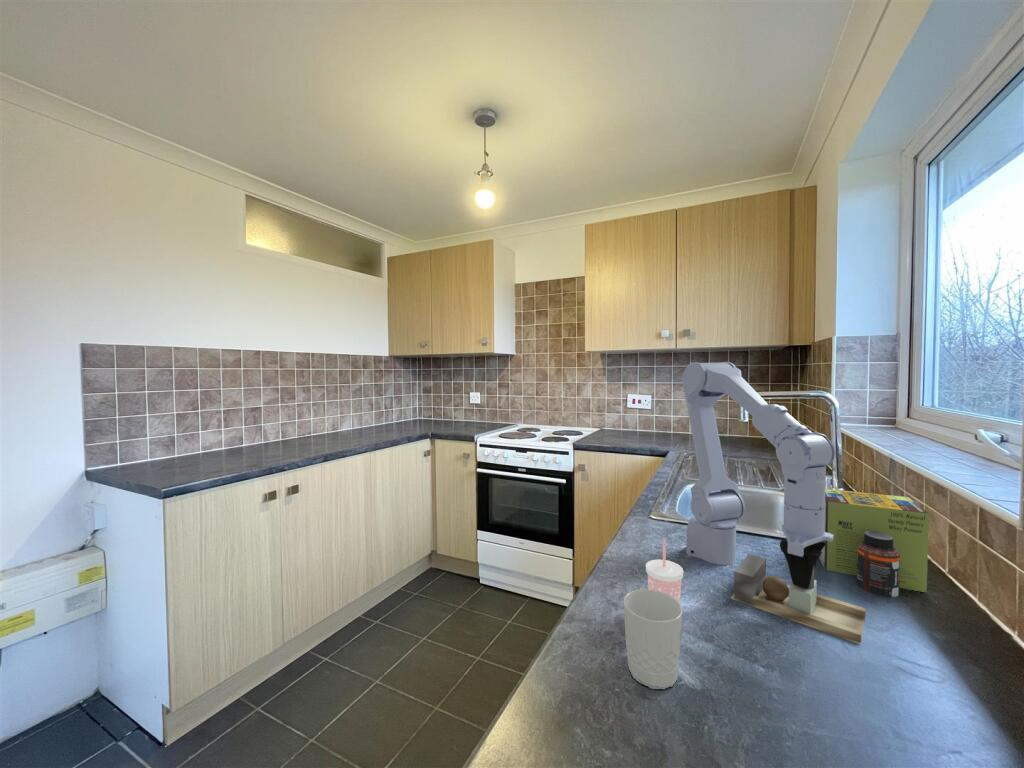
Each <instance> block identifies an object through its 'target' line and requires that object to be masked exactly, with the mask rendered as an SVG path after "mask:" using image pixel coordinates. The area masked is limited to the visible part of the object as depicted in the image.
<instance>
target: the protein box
mask: <svg viewBox="0 0 1024 768" xmlns="http://www.w3.org/2000/svg"><path fill="white" fill-rule="evenodd" d="M929 517H930V513H929V512H928V511H927V510H925V509H924V508H923V507H921V506H920V505H919V504H917V503H916V502H915V501H913V500H912V498H910V497H908V496H900V495H891V494H890V495H889V494H888V495H887V494H879V493H871V492H869V493H868V492H863V491H862V492H861V491H851V490H850V491H849V490H839V489H829V488H825V532H826V533H830V534H833V535H834V537H833V541H826V545H825V546H824V547H823V549H822V550H821V552H822V554H821V556H820V557H819V558H818V559H819V561H820V564H821V566H822V567H823V568H824V569H825V570H826V571H831V572H837V573H842V574H847V575H852V576H854V577H855V576H856V577H857V552H858V544H859V543H860V542H863V541H864V540H865V539H864V534H865V532H867V531H875V532H881V533H884V534H887V535H890V536H891V537H893V547H894V548H895V549H897V550H898V552H899V553H900V580H899V581H900V582H899V589H903V590H904V589H905V590H909V591H911V590H914V591H913V592H915V591H921V592H927V591H928V589H927V588H928V587H927V586H928V560H929V559H928V556H929V555H928V553H929V552H928V551H929V531H930V530H929V526H930V525H929V523H930V518H929Z"/></svg>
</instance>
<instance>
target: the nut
mask: <svg viewBox="0 0 1024 768" xmlns="http://www.w3.org/2000/svg"><path fill="white" fill-rule="evenodd" d="M787 585H788V584H787V583H786V582H785V580H784V579H782V578H781V577H779V576H773V575H772V576H771V575H770V576H766V579H765V580H764V581H763V585H762V586H763V590H764V592H765V594H766V599H767V600H770V601H773V602H776V603H779V604H782V603H783V601H784V600H785V599H786V598H787V597H788V594H789V588H788V586H787Z"/></svg>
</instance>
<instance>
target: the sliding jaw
mask: <svg viewBox="0 0 1024 768" xmlns="http://www.w3.org/2000/svg"><path fill="white" fill-rule="evenodd" d="M817 581H818V580H816V579H815V572H814V568H813V572H812V577H811V582H810V585H809V587H808V589H806V588H803V587H799V586H796V585H793V582H791V584H790V587H789V607H791V608H794V609H796V610H799V611H802V612H805V613H808V614H811V615H812V613H813V610H814V608H815V605H816V596H817V594H818V592H817V590H818V589H817V587H818V584H817V583H818V582H817Z"/></svg>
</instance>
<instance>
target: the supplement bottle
mask: <svg viewBox="0 0 1024 768" xmlns="http://www.w3.org/2000/svg"><path fill="white" fill-rule="evenodd" d="M864 539H865V540H864V541H863V542H860V543H859V544H858V552H857V576H856V584H857V586H858V587H860V589H862V590H864V591H866V592H868V593H871V594H873V595H876V596H880V597H885V598H896V597H898V596H899V595H900V587H899V582H900V581H899V580H900V553H899V552H898V550H897V549H895V548H894V547H893V537H891V536H890V535H887V534H884V533H881V532H875V531H867V532H865V534H864Z"/></svg>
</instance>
